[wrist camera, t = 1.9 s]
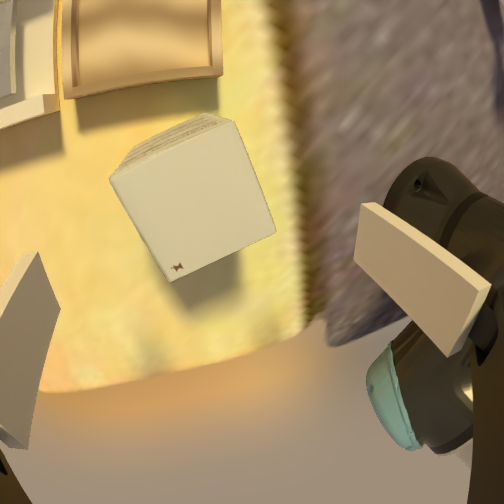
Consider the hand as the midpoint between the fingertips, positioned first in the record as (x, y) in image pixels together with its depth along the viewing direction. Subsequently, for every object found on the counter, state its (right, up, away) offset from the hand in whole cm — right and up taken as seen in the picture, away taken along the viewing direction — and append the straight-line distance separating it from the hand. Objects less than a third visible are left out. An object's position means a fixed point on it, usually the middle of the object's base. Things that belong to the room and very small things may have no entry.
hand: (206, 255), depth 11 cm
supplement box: (-5, +8, +16) cm, 18 cm away
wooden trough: (-8, +20, +8) cm, 23 cm away
